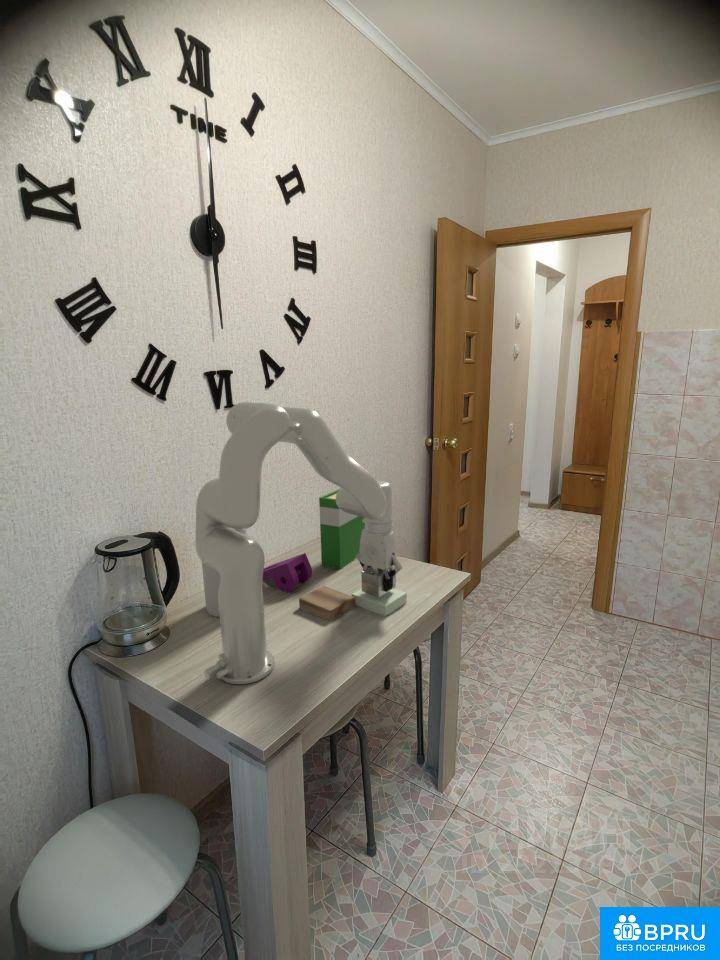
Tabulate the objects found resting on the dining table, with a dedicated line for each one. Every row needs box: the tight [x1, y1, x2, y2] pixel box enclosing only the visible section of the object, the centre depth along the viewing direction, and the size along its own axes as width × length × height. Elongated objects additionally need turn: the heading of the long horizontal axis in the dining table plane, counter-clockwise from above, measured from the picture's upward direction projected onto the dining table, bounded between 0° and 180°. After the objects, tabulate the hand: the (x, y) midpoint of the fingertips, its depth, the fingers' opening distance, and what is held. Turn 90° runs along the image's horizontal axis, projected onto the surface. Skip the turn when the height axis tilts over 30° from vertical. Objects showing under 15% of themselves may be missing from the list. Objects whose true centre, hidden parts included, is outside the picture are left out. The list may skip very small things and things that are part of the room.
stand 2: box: [351, 587, 407, 617], centre depth 140 cm, size 10×12×3 cm
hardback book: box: [318, 487, 365, 570], centre depth 170 cm, size 18×7×24 cm, turn 151°
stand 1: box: [298, 585, 356, 622], centre depth 138 cm, size 10×12×3 cm
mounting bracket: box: [263, 552, 313, 593], centre depth 154 cm, size 9×8×18 cm
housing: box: [360, 566, 397, 597], centre depth 138 cm, size 8×6×7 cm
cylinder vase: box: [201, 529, 248, 618], centre depth 136 cm, size 12×12×25 cm
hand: (378, 586), depth 139 cm, fingers closed on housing, 6 cm apart
